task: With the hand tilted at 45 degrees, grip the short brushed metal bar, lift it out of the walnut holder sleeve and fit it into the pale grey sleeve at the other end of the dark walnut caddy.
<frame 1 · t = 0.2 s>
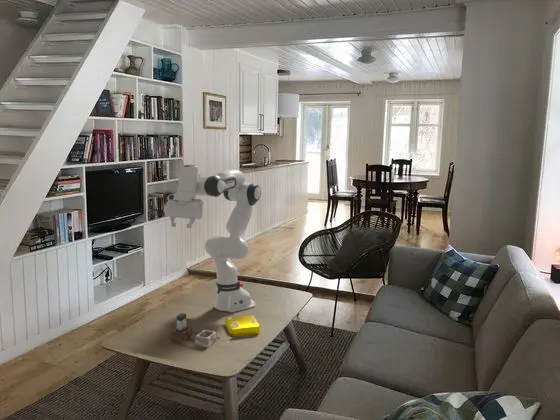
hand: (181, 227, 218), 52 cm above the table, fingers open, 8 cm apart
brushed metal bar: (182, 337, 217), point 1 cm above the table, touching caddy
caddy: (194, 343, 215), on the table
element tile: (241, 330, 230), on the table
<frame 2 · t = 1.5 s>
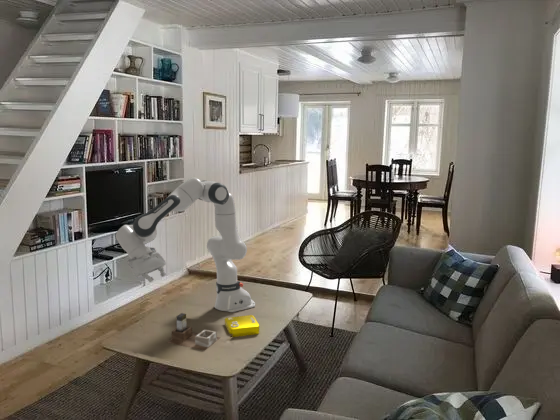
hand: (158, 278, 217), 28 cm above the table, fingers open, 8 cm apart
nothing on the table moved.
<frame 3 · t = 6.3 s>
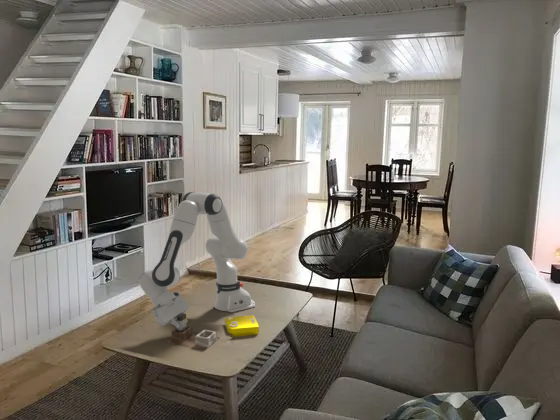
hand: (182, 324, 216), 8 cm above the table, fingers closed on brushed metal bar, 4 cm apart
brushed metal bar: (182, 337, 217), point 1 cm above the table, touching caddy, gripper
everything else where it was.
when the fingers open (9 cm above the table, at t = 12.9 s): brushed metal bar drops 1 cm, resting on caddy.
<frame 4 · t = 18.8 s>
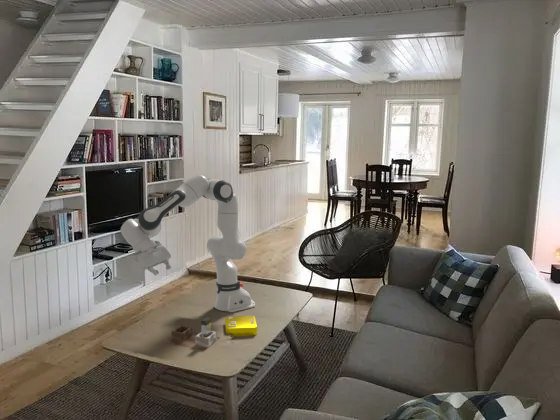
hand: (163, 271, 218), 31 cm above the table, fingers open, 8 cm apart
brushed metal bar: (206, 342, 212), point 1 cm above the table, touching caddy
at the end: brushed metal bar 0.1 cm from the target spot, point 1.5 cm above the table; brushed metal bar tilted 0°; the gripper is holding nothing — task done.
